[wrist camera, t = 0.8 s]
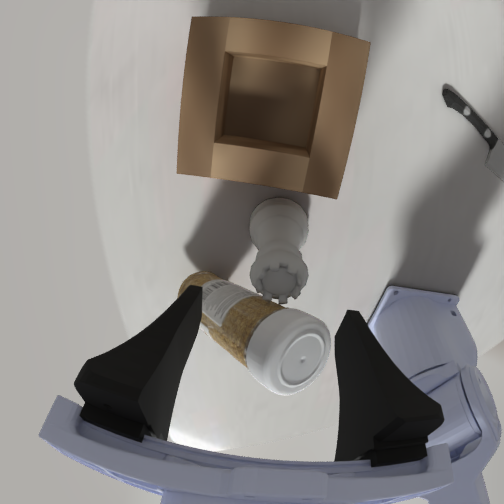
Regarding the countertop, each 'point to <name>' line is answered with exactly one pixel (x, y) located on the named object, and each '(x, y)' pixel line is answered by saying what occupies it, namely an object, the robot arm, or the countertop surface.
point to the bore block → (269, 103)
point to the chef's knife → (500, 155)
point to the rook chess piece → (278, 249)
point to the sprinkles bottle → (263, 334)
